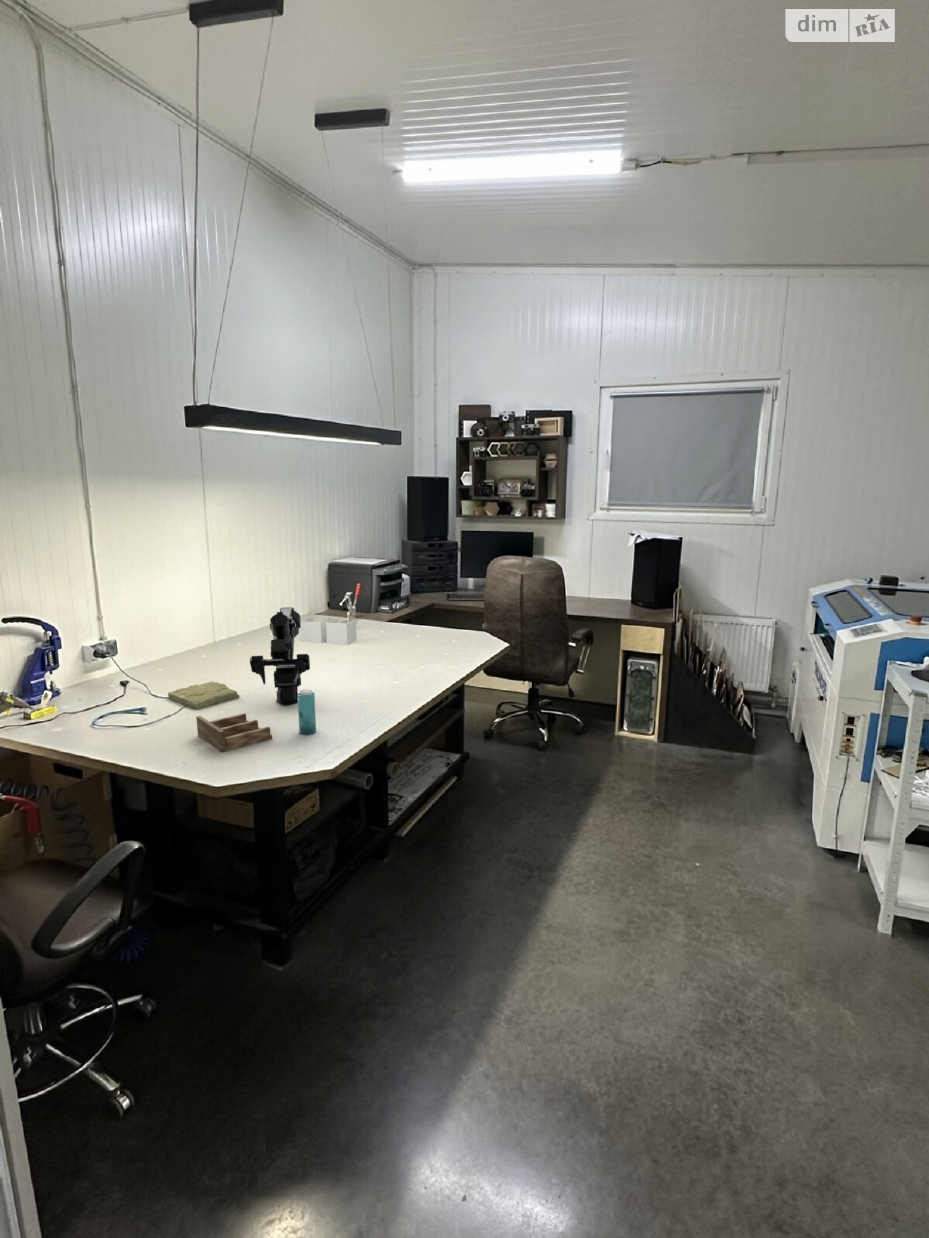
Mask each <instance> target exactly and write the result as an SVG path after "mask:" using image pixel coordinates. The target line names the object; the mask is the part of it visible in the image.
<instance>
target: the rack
mask: <svg viewBox="0 0 929 1238" xmlns="http://www.w3.org/2000/svg"><path fill="white" fill-rule="evenodd" d="M196 730H197V736H198V737H200V738H201V739H202V740H204V741H205V742H207V743H208V744H209V745H211V746H212V747H214V748H215V749H217V750H218V751H219V752H221V753H223V752H226V751H231V750H235V749H238V748H242V747H246V746H249V745H253V744H256V743H257V744H258V743H262V742H265V741H268V740H272V739H273V735H272V734H271V727H269V726H266V727H265V726H264V727H259V721H258V720H257V719H253V720H250V721H248V720H247V714H246V713H239V714H236V715H231V716H227V717H222V718H218V719H217V718H216V719H214V720H210V721H209V720H207V719H206V718H205V717H203V716H201V715H197V716H196Z"/></svg>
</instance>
